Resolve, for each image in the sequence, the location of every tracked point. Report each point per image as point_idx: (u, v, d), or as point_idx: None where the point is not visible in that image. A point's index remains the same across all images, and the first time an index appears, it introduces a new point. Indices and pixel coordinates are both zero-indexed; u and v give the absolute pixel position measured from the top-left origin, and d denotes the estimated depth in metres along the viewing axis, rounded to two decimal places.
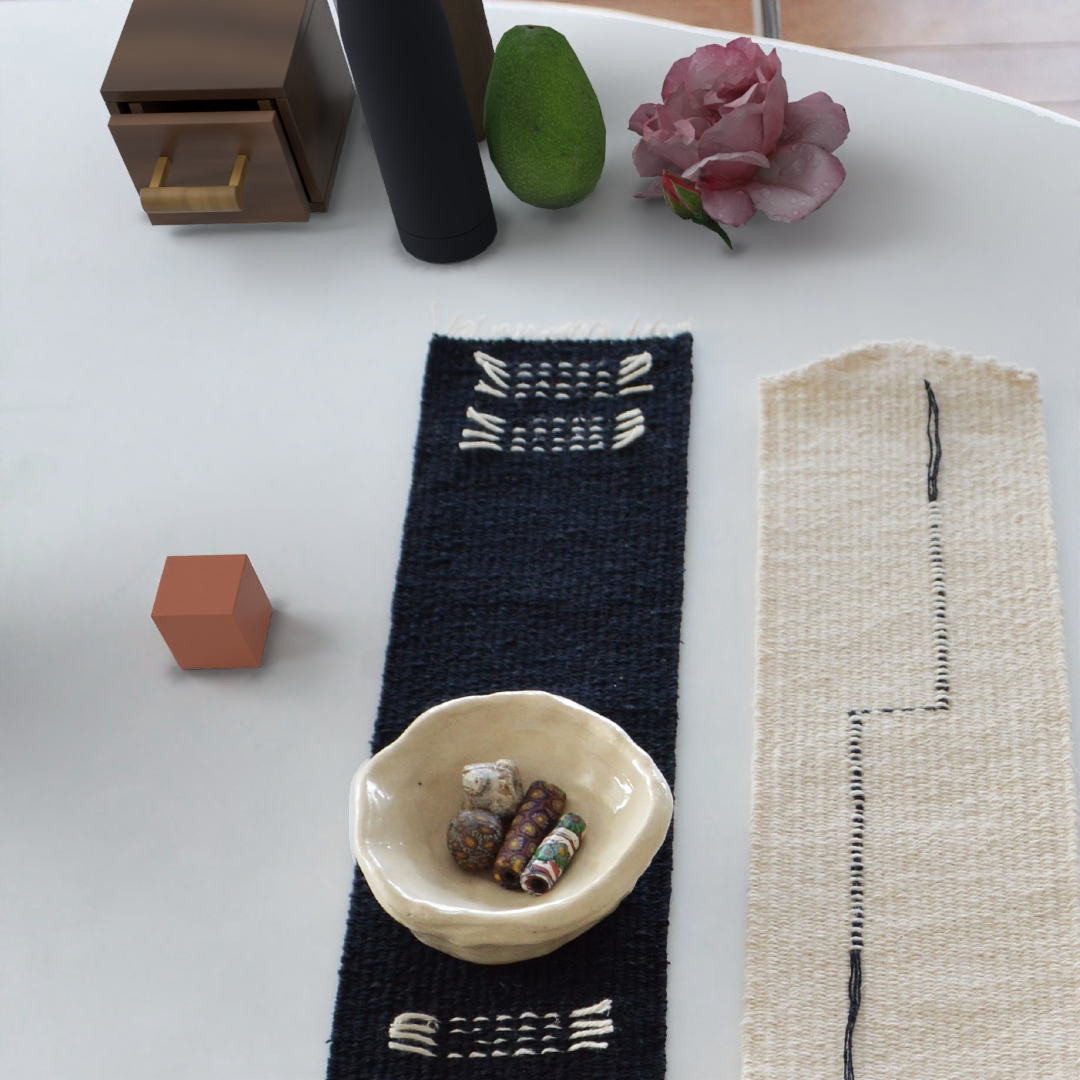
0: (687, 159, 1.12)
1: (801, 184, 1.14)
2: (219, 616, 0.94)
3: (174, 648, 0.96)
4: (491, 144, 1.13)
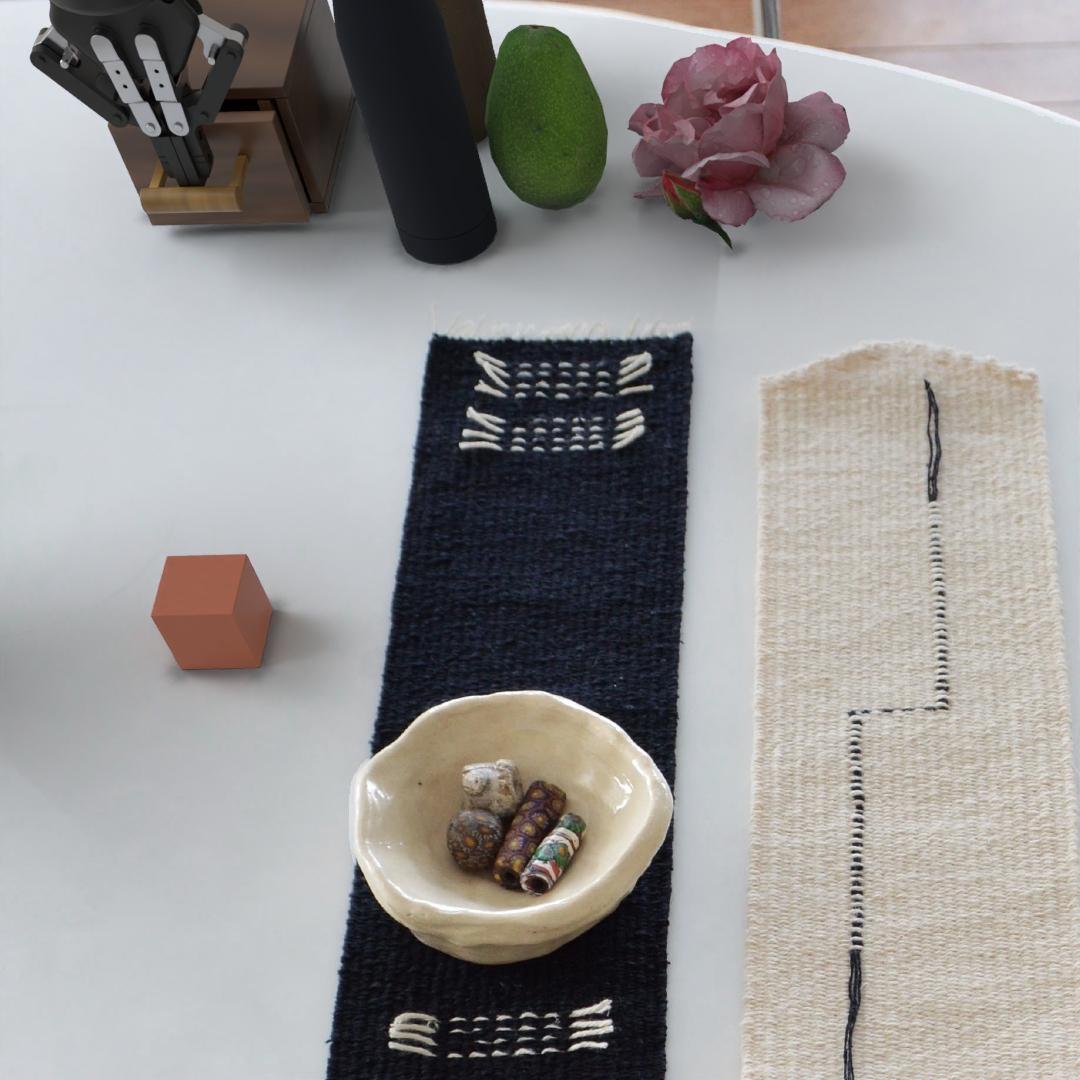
0: (687, 159, 1.12)
1: (801, 184, 1.14)
2: (219, 616, 0.94)
3: (174, 648, 0.96)
4: (493, 143, 1.13)
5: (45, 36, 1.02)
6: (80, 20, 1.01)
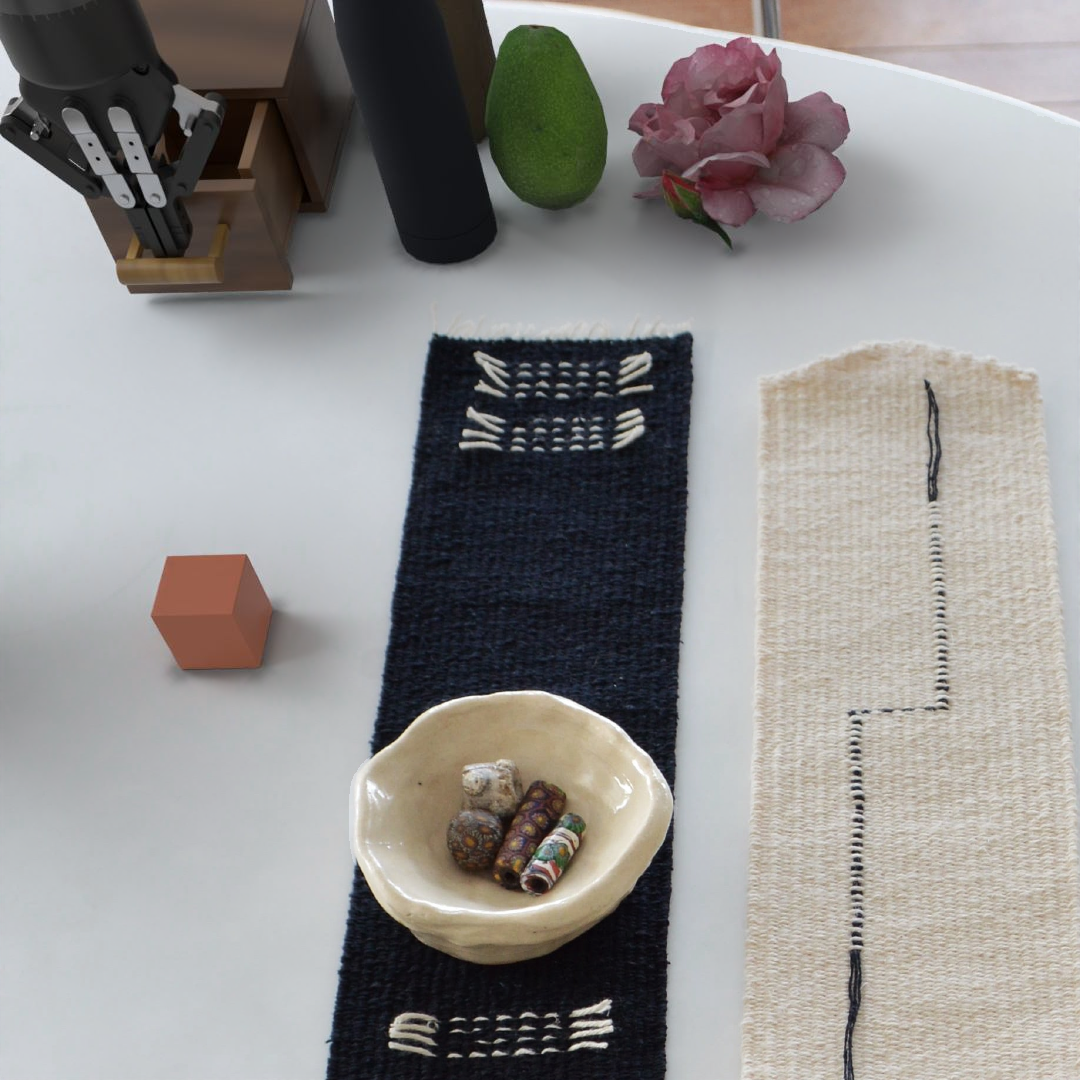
0: (687, 159, 1.12)
1: (801, 184, 1.14)
2: (219, 616, 0.94)
3: (174, 648, 0.96)
4: (493, 143, 1.13)
5: (15, 107, 0.99)
6: (51, 92, 0.97)
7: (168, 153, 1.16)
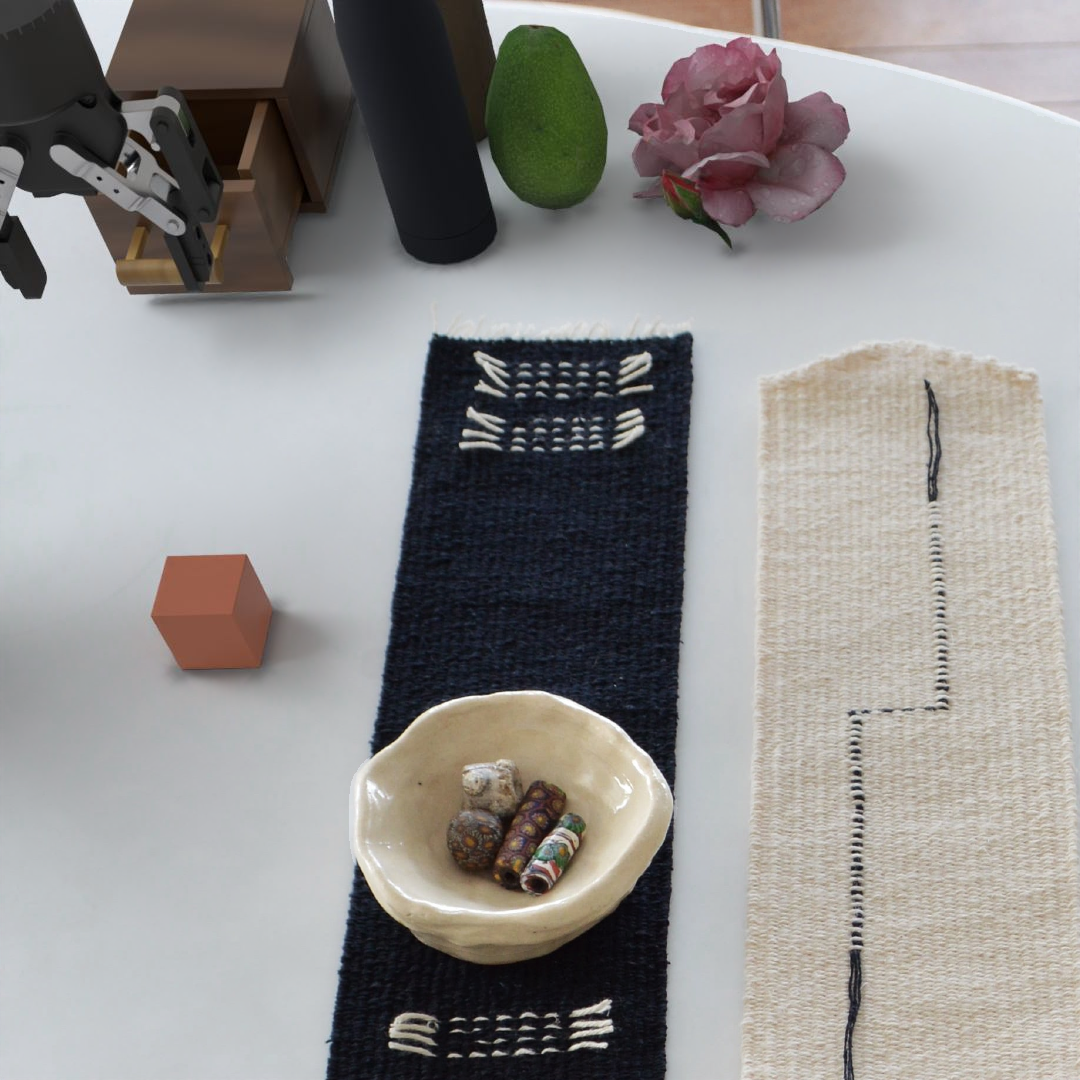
0: (687, 159, 1.12)
1: (801, 184, 1.14)
2: (219, 616, 0.94)
3: (174, 648, 0.96)
4: (493, 143, 1.13)
5: None
6: None
7: None
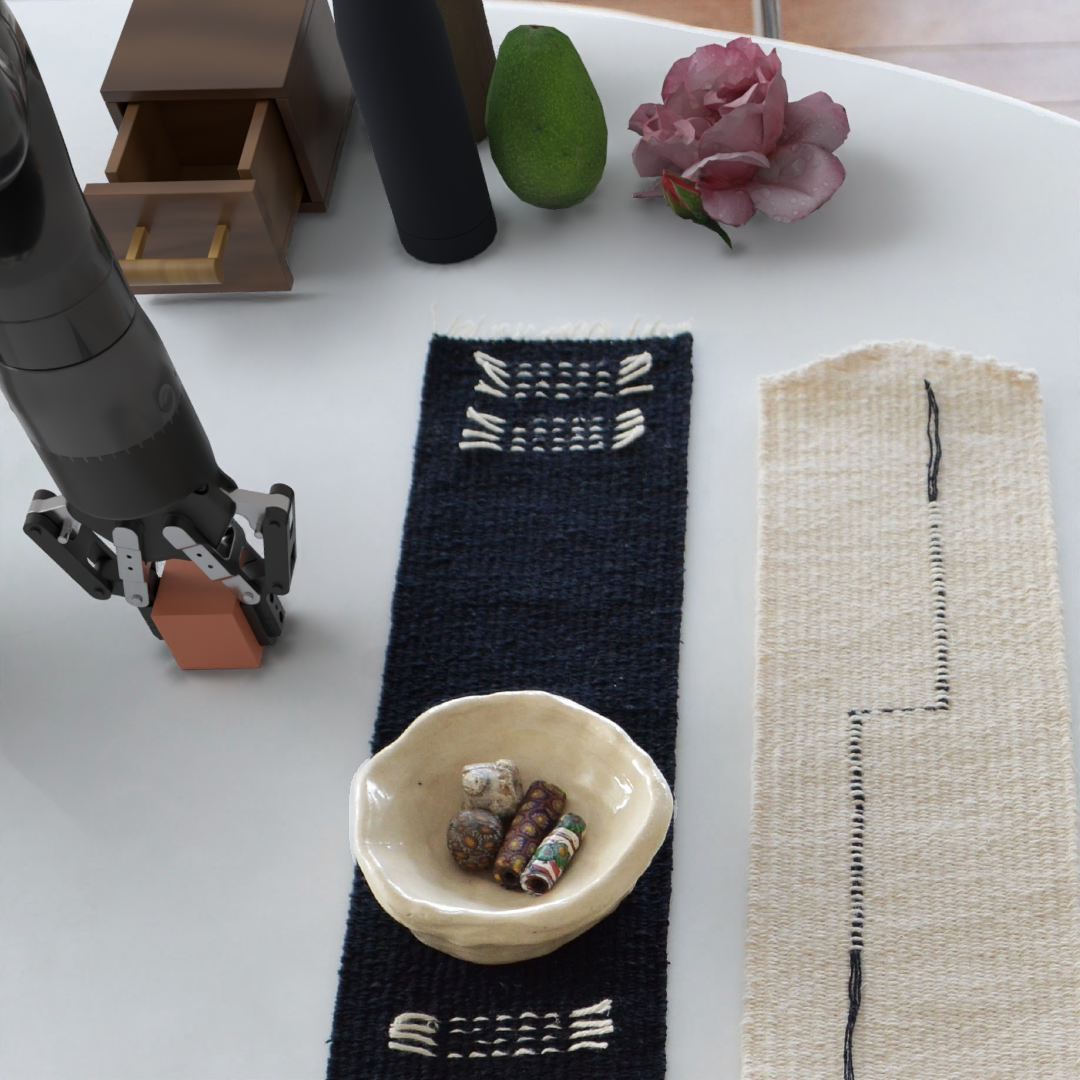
0: (687, 159, 1.12)
1: (801, 184, 1.14)
2: (219, 616, 0.94)
3: (174, 648, 0.96)
4: (493, 143, 1.13)
5: (49, 509, 0.90)
6: None
7: (168, 154, 1.16)
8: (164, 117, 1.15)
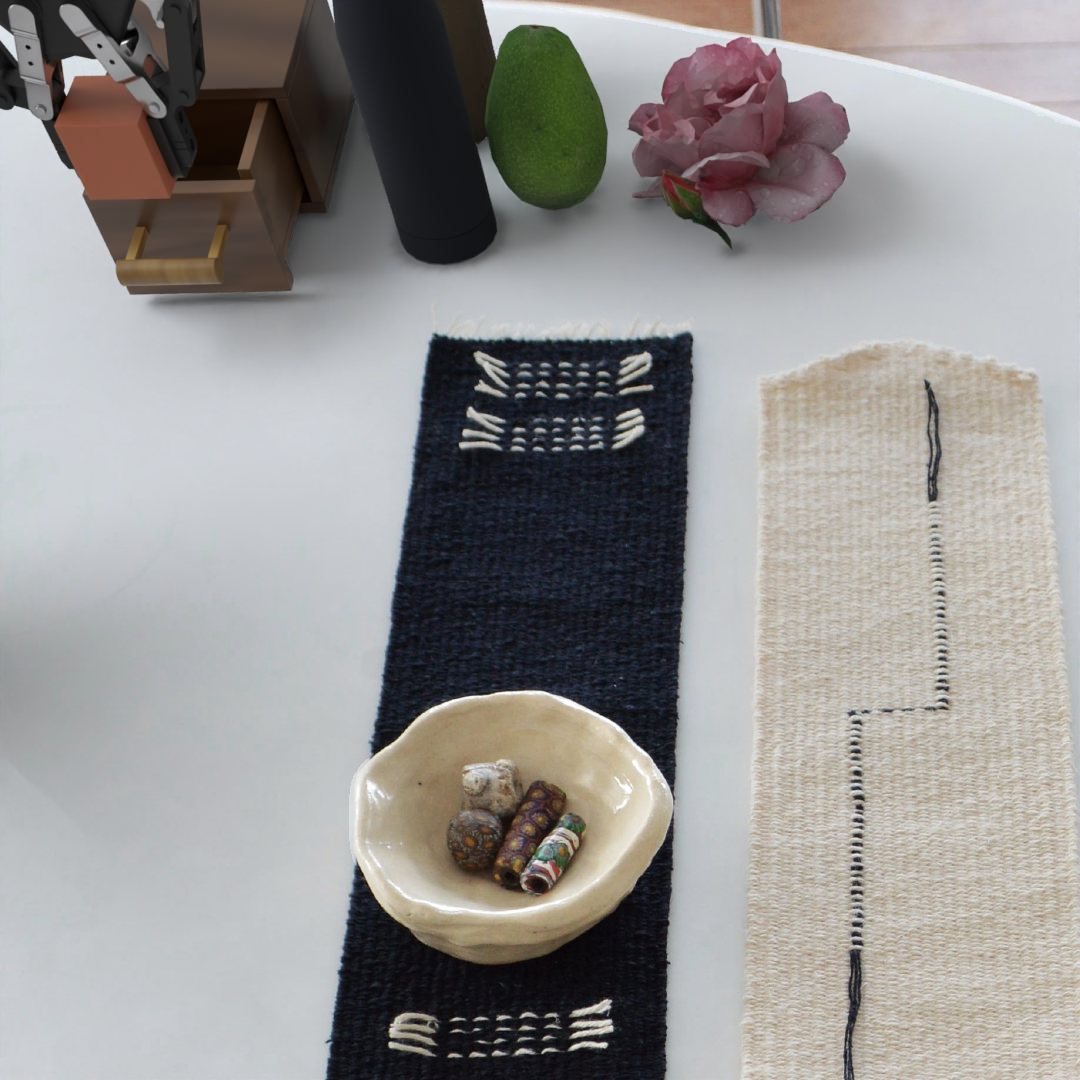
0: (687, 159, 1.12)
1: (801, 184, 1.14)
2: (124, 127, 0.92)
3: (81, 170, 0.94)
4: (493, 143, 1.13)
5: None
6: None
7: None
8: None
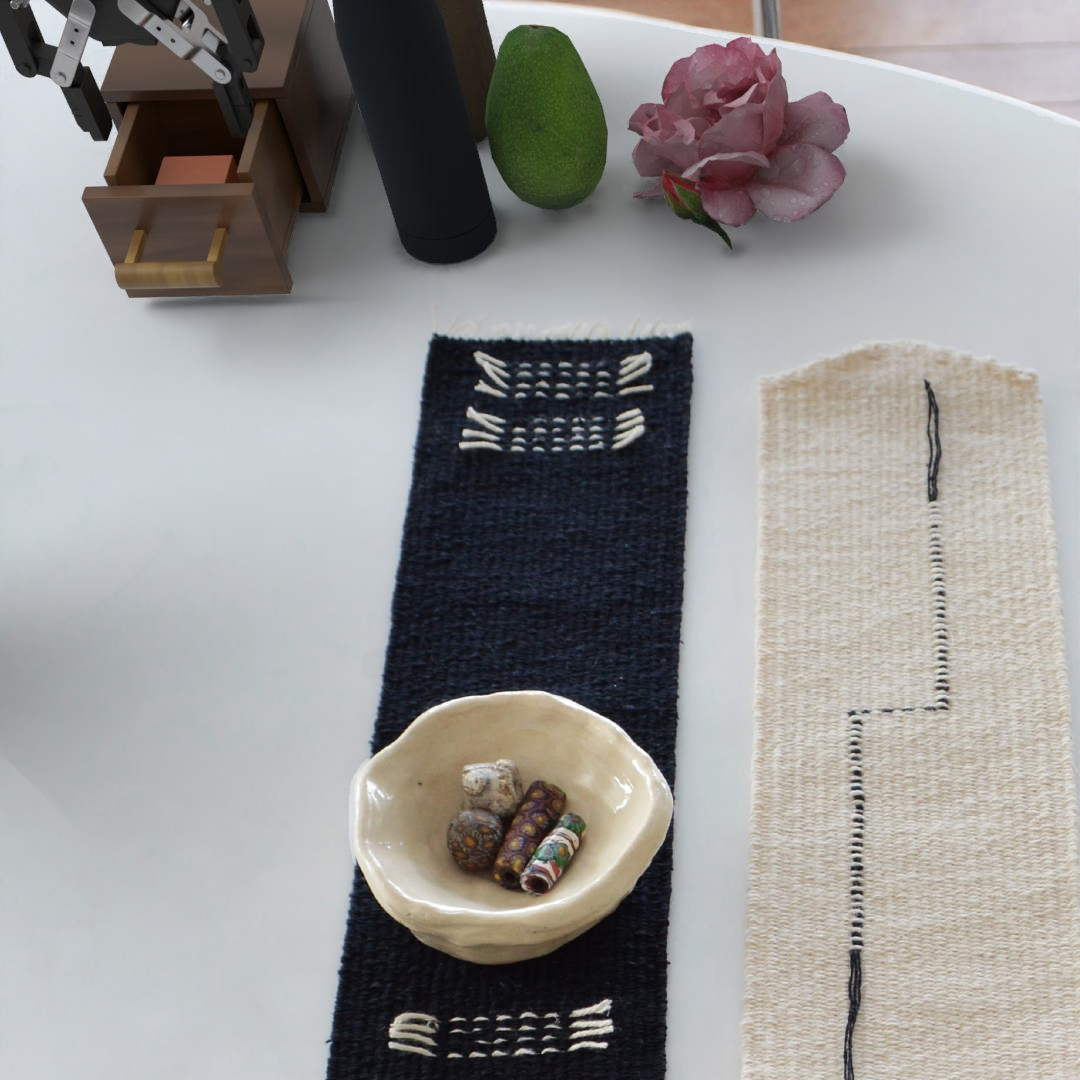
0: (687, 159, 1.12)
1: (801, 184, 1.14)
2: None
3: None
4: (493, 143, 1.13)
5: None
6: None
7: None
8: (163, 120, 1.15)
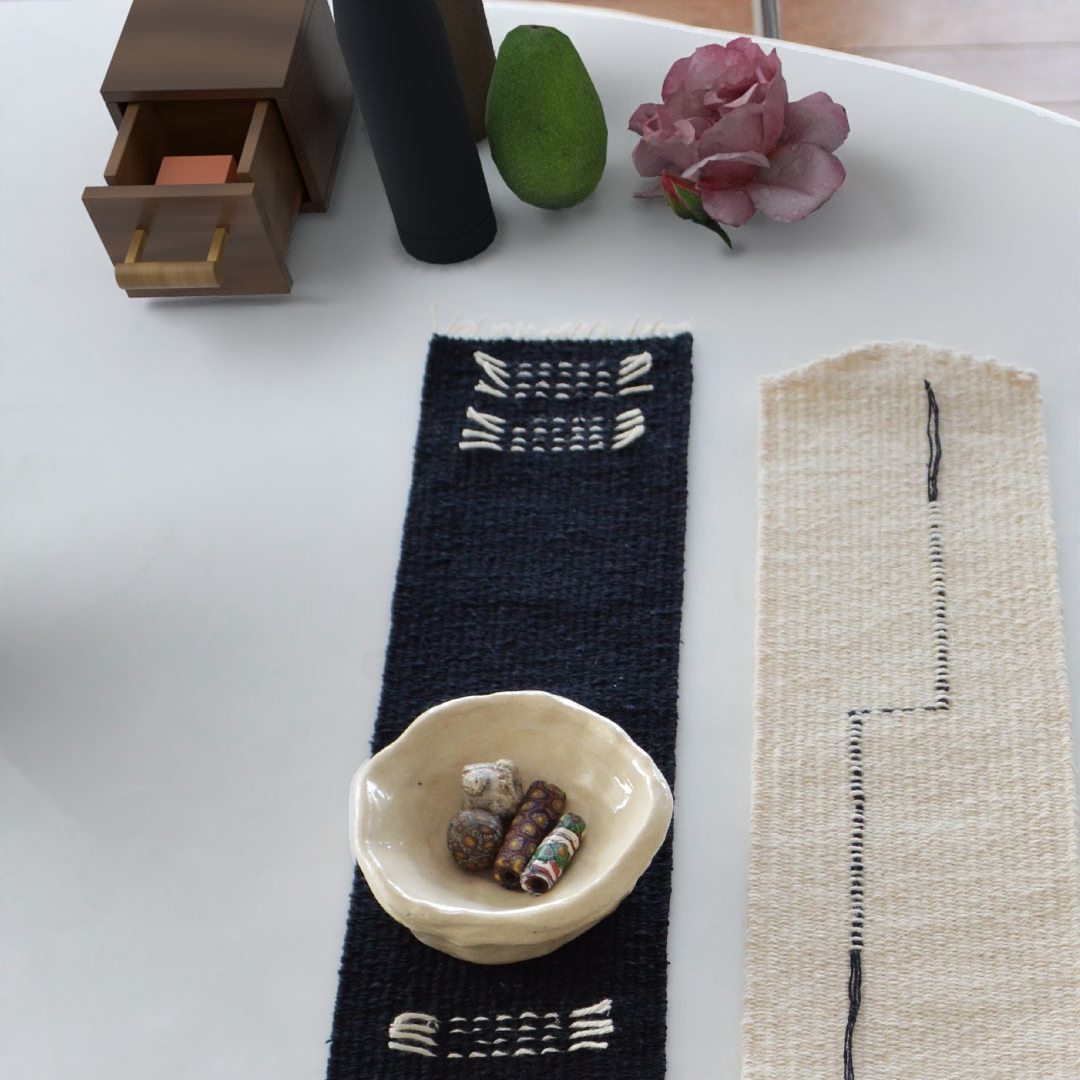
0: (687, 159, 1.12)
1: (801, 184, 1.14)
2: None
3: None
4: (493, 143, 1.13)
5: None
6: None
7: None
8: (163, 120, 1.15)
